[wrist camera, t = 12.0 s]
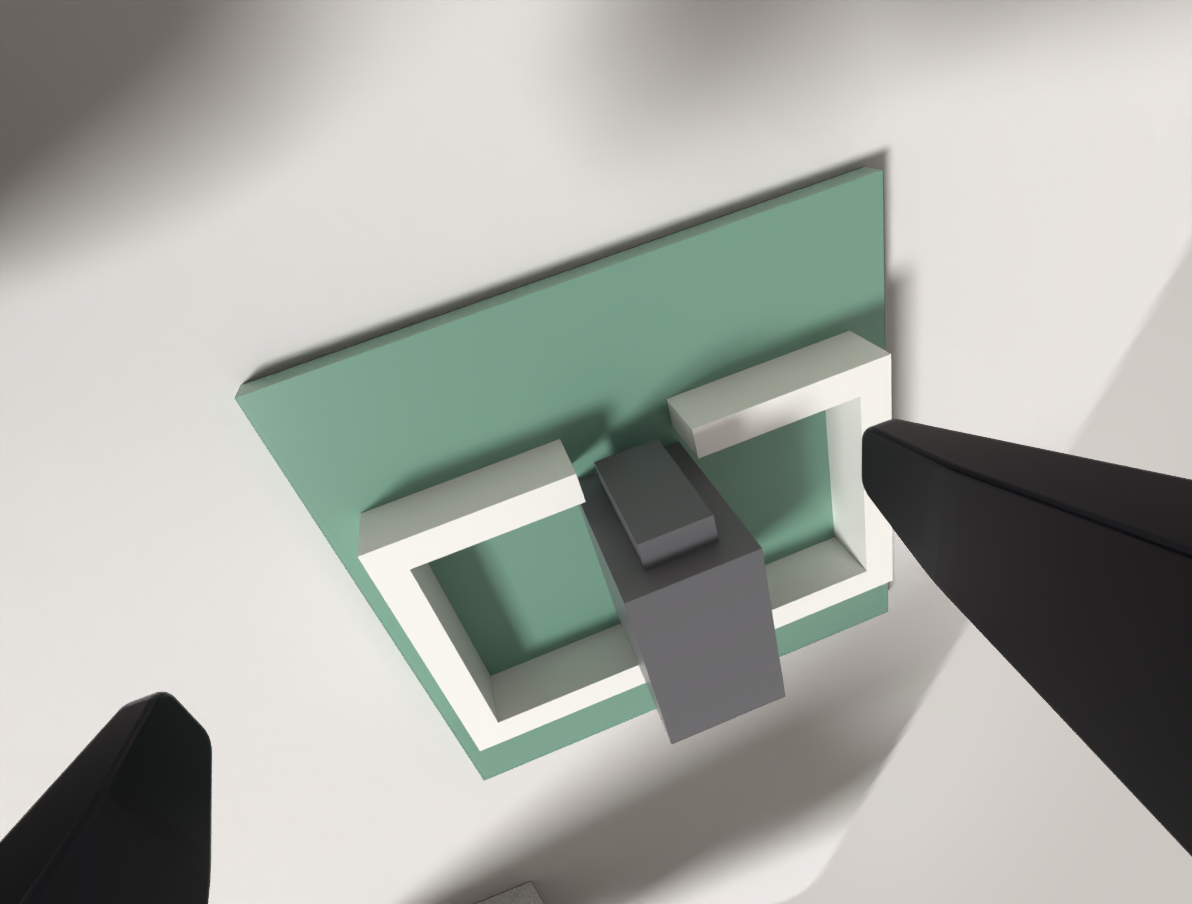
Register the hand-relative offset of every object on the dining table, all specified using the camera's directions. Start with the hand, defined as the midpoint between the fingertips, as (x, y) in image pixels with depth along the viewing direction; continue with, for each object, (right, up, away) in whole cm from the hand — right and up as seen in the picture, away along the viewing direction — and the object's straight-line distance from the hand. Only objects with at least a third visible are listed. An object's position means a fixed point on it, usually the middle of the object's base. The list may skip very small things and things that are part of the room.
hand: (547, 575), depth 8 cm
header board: (+2, -1, +14) cm, 15 cm away
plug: (+2, -1, +14) cm, 14 cm away
